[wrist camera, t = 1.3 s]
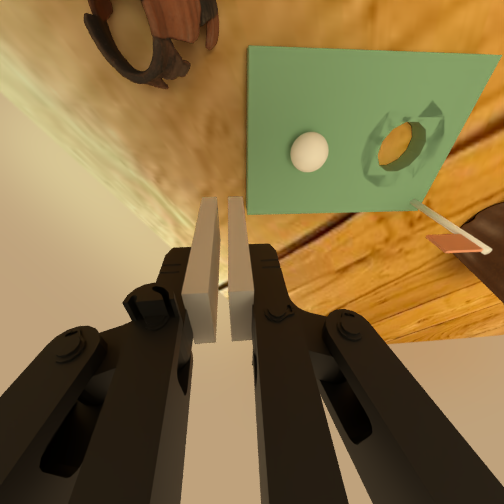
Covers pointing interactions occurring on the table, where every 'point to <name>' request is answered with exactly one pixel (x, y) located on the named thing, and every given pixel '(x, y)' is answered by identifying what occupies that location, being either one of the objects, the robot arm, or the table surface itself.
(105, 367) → the robot arm
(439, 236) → the flag pin
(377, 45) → the table surface
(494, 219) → the plant pot
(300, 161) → the ball
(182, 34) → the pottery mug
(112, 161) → the table surface
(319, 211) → the green
